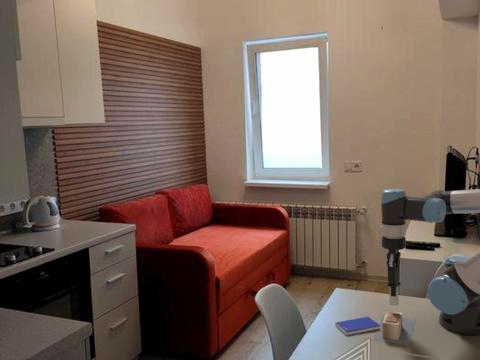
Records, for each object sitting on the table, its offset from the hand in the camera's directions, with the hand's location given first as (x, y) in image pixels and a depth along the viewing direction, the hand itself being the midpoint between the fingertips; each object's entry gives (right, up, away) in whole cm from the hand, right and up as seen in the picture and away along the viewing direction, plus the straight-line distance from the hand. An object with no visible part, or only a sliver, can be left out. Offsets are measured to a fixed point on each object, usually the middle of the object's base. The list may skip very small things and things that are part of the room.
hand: (394, 304), depth 158 cm
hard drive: (-12, -9, +1) cm, 15 cm away
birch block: (0, -5, 0) cm, 5 cm away
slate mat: (0, -8, -2) cm, 8 cm away
